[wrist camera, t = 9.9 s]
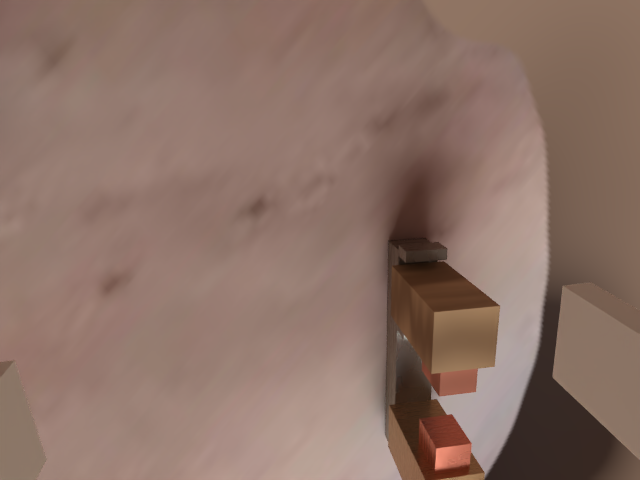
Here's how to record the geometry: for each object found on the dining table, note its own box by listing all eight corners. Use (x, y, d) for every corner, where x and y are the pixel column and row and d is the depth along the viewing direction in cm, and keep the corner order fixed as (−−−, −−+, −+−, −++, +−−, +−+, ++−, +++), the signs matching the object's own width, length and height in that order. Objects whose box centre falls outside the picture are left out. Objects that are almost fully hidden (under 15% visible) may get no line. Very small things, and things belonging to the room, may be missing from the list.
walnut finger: (391, 265, 34) (434, 312, 27) (443, 261, 35) (499, 306, 27) (390, 339, 36) (429, 402, 28) (440, 334, 37) (491, 395, 29)
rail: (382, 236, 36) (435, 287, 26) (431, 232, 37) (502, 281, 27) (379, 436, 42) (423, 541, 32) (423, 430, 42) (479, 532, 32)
